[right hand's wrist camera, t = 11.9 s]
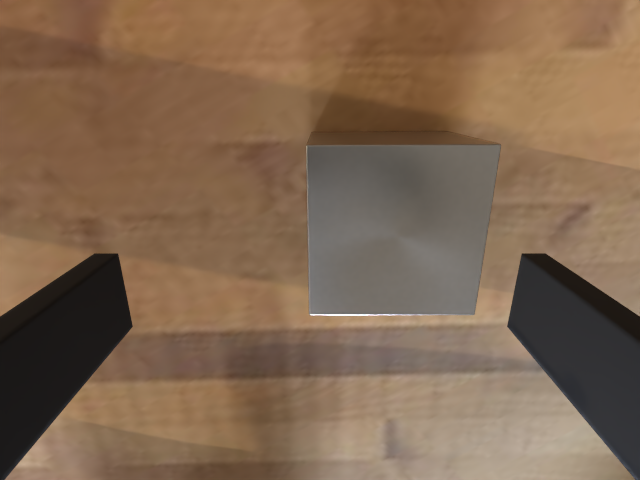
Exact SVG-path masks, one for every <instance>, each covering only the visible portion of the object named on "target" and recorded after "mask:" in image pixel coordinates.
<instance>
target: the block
mask: <svg viewBox="0 0 640 480" xmlns="http://www.w3.org/2000/svg"><path fill="white" fill-rule="evenodd" d="M500 149H501V144H498V143H494V142H490V141H486V140H481V139H477V138H473V137H469V136H465V135H460V134H456V133H452V132H448V131H422V132H311V135H310V138H309V140H308V143H307V145H306V174H307V229H308V283H309V315H474V314H475V308H476V302H477V296H478V289H479V283H480V276H481V270H482V264H483V257H484V251H485V245H486V238H487V232H488V225H489V219H490V213H491V206H492V200H493V193H494V187H495V181H496V174H497V168H498V161H499V155H500Z"/></svg>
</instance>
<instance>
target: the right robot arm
mask: <svg viewBox="0 0 640 480" xmlns="http://www.w3.org/2000/svg"><path fill="white" fill-rule="evenodd" d="M132 327H133V326H132V321H131V316H130V311H129V306H128V301H127V296H126V291H125V286H124V281H123V276H122V271H121V266H120V261H119V256H118V254H93V255H92V256H90V257H89V258H87V259H86V260H84V261H83V262H81V263H80V264H78V265H77V266H75V267H74V268H72V269H71V270H69V271H68V272H66V273H65V274H63V275H62V276H60V277H59V278H57V279H56V280H54V281H53V282H51V283H50V284H48V285H47V286H45V287H44V288H42V289H41V290H39V291H38V292H36V293H35V294H33V295H32V296H30V297H29V298H27V299H26V300H24V301H23V302H21V303H20V304H18V305H17V306H15V307H14V308H12V309H11V310H9V311H8V312H7V313H5V314H4V315H2V316H1V317H0V480H5V478H6V477H7V476H8V475H9V474H10V472H11V471H12V470H13V469H14V468H15V466H16V465H17V464H18V463H19V462H20V460H21V459H22V458H23V457H24V456H25V455H26V453H27V452H28V451H29V450H30V449H31V447H32V446H33V445H34V444H35V443H36V441H37V440H38V439H39V438H40V437H41V435H42V434H43V433H44V432H45V431H46V429H47V428H48V427H49V426H50V425H51V423H52V422H53V421H54V420H55V419H56V417H57V416H58V415H59V414H60V413H61V412H62V410H63V409H64V408H65V407H66V406H67V404H68V403H69V402H70V401H71V400H72V398H73V397H74V396H75V395H76V394H77V392H78V391H79V390H80V389H81V388H82V386H83V385H84V384H85V383H86V382H87V380H88V379H89V378H90V377H91V376H92V374H93V373H94V372H95V371H96V370H97V369H98V367H99V366H100V365H101V364H102V363H103V361H104V360H105V359H106V358H107V357H108V355H109V354H110V353H111V352H112V351H113V349H114V348H115V347H116V346H117V345H118V343H119V342H120V341H121V340H122V339H123V337H124V336H125V335H126V334H127V333H128V331H129V330H130V329H131V328H132ZM507 327H508V328H509V329H510V330H511V331H512V333H513V334H514V335H515V336H516V337H517V339H518V340H519V341H520V342H521V343H522V345H523V346H524V347H525V348H526V349H527V351H528V352H529V353H530V354H531V355H532V357H533V358H534V359H535V360H536V361H537V363H538V364H539V365H540V366H541V367H542V369H543V370H544V371H545V372H546V373H547V374H548V376H549V377H550V378H551V379H552V380H553V382H554V383H555V384H556V385H557V386H558V388H559V389H560V390H561V391H562V392H563V394H564V395H565V396H566V397H567V398H568V400H569V401H570V402H571V403H572V404H573V406H574V407H575V408H576V409H577V410H578V412H579V413H580V414H581V415H582V416H583V417H584V419H585V420H586V421H587V422H588V423H589V425H590V426H591V427H592V428H593V429H594V431H595V432H596V433H597V434H598V435H599V437H600V438H601V439H602V440H603V441H604V443H605V444H606V445H607V446H608V447H609V449H610V450H611V451H612V452H613V453H614V455H615V456H616V457H617V458H618V459H619V460H620V462H621V463H622V464H623V465H624V466H625V468H626V469H627V470H628V471H629V472H630V474H631V475H632V476H633V477H634V478H635V480H640V317H639V316H638V315H636V314H635V313H633V312H632V311H631V310H629V309H628V308H626V307H625V306H623V305H622V304H620V303H619V302H617V301H616V300H614V299H613V298H611V297H610V296H608V295H607V294H605V293H604V292H602V291H601V290H599V289H598V288H596V287H595V286H593V285H592V284H590V283H589V282H587V281H586V280H584V279H583V278H581V277H580V276H578V275H577V274H575V273H574V272H572V271H571V270H569V269H568V268H566V267H565V266H563V265H562V264H560V263H559V262H557V261H556V260H554V259H553V258H551V257H550V256H548V255H547V254H522V256H521V261H520V266H519V271H518V276H517V281H516V286H515V291H514V296H513V301H512V306H511V311H510V316H509V321H508V326H507Z"/></svg>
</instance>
